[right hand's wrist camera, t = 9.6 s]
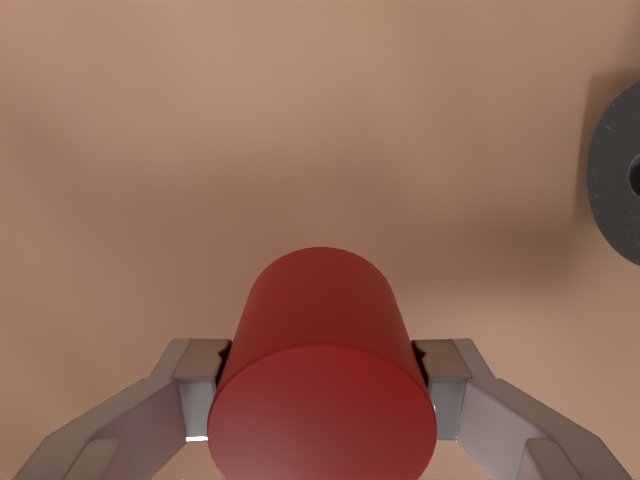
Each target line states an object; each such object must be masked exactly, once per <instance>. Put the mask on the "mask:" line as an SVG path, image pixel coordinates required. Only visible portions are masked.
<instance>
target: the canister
mask: <svg viewBox="0 0 640 480" xmlns="http://www.w3.org/2000/svg"><path fill="white" fill-rule="evenodd" d="M436 438H437V419H436V415H435V411H434V407H433V404H432V401H431V398H430V396H429V393H428V390H427V387H426V384H425V382H424V379H423V376H422V373H421V370H420V367H419V365H418V362H417V359H416V356H415V353H414V351H413V348H412V345H411V342H410V339H409V336H408V334H407V331H406V328H405V325H404V322H403V319H402V317H401V314H400V311H399V308H398V305H397V303H396V300H395V297H394V294H393V292H392V289H391V287H390V285H389V283H388V282H387V280H386V278H385V277H384V276H383V275H382V273H381V272H380V271H379V270H378V269H377V268H376V267H375V266H374V265H373V264H371V263H370V262H368V261H367V260H365V259H364V258H362V257H360V256H358V255H356V254H354V253H351V252H348V251H346V250H341V249H337V248H329V247H313V248H306V249H302V250H298V251H294V252H292V253H289V254H287V255H284V256H283V257H281V258H279V259H277V260H276V261H274V262H273V263H272V264H270V265H269V266H268V267H267V268H266V269H265V270H264V271H263V272H262V273H261V274H260V276H259V277H258V278H257V280H256V281H255V283H254V285H253V287H252V288H251V291H250V294H249V296H248V299H247V302H246V305H245V308H244V311H243V314H242V317H241V320H240V323H239V325H238V328H237V331H236V334H235V337H234V340H233V343H232V346H231V349H230V352H229V354H228V357H227V360H226V363H225V366H224V369H223V372H222V375H221V378H220V381H219V384H218V386H217V389H216V392H215V395H214V398H213V401H212V404H211V407H210V410H209V414H208V419H207V440H208V446H209V450H210V453H211V456H212V458H213V460H214V462H215V464H216V466H217V468H218V470H219V471H220V472H221V474H222V475H223V476H224V478H225V479H226V480H418V478H419V477H420V476H421V475H422V473H423V472H424V470H425V469H426V467H427V466H428V464H429V462H430V460H431V457H432V455H433V452H434V448H435V445H436Z"/></svg>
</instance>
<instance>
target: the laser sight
mask: <svg viewBox="0 0 640 480" xmlns="http://www.w3.org/2000/svg"><path fill="white" fill-rule="evenodd" d="M586 186H587V194H588V199H589V204H590V207H591V211H592V214H593V216H594V219H595V221H596V223H597V226H598V228H599V229H600V231H601V233H602V235H603V236H604V237H605V239H606V240H607V242H608V243H609V244H610V245H611V246H612V247H613V248H614V250H615V251H616V252H618V253H619V254H620V255H621V256H622V257H624V258H625V259H627V260H628V261H630V262H632V263H634V264H636V265H639V266H640V80H638V81H636V82H634V83H632V84H631V85H629V86H628V87H626V88H625V89H624V90H622V91H621V92H620V93H619V94H618V95H617V96H616V97H615V98H614V99H613V100H612V101H611V102H610V103H609V105H608V106H607V107H606V109H605V110H604V112H603V113H602V115H601V117H600V119H599V121H598V123H597V125H596V127H595V130H594V132H593V135H592V138H591V141H590V145H589V149H588V155H587V163H586Z"/></svg>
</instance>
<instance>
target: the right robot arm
mask: <svg viewBox="0 0 640 480" xmlns="http://www.w3.org/2000/svg"><path fill="white" fill-rule="evenodd" d="M411 345H412V348H413V351H414V353H415V356H416V359H417V362H418V365H419V367H420V370H421V373H422V376H423V379H424V382H425V384H426V387H427V390H428V393H429V396H430V398H431V401H432V404H433V407H434V411H435V415H436V419H437V438H436V440H453V441H457V443H458V444H459V445H460V446H461V447H462V448H463V449H464V450H465V451H466V452H467V453H468V454H469V455H470V456H471V457H472V458H473V459H474V460H475V461H476V462H477V463H478V464H479V465H480V466H481V467H482V468H483V469H484V470H485V471H486V472H487V473H488V474H489V475H490V476H491V477H492V478H493V479H494V480H633V479H632V478H631V476H630V475H629V474H628V473H627V471H626V470H625V469H624V468H623V466H622V465H621V464H620V463H619V461H618V460H617V459H616V458H615V456H614V455H613V454H612V453H611V451H610V450H609V449H608V448H607V446H606V445H605V444H604V443H603V441H602V440H601V439H600V438H599V437H598V436H596V435H595V434H593V433H591V432H590V431H588V430H586V429H585V428H583V427H581V426H580V425H578V424H576V423H575V422H573V421H571V420H570V419H568V418H566V417H565V416H563V415H561V414H560V413H558V412H556V411H555V410H553V409H551V408H550V407H548V406H546V405H545V404H543V403H541V402H540V401H538V400H536V399H535V398H533V397H531V396H530V395H528V394H526V393H525V392H523V391H521V390H520V389H518V388H516V387H515V386H513V385H511V384H509V383H508V382H506V381H504V380H503V379H496V378H495V377H494V375H493V373H492V372H491V370H490V369H489V367H488V365H487V364H486V362H485V361H484V359H483V357H482V356H481V354H480V352H479V351H478V349H477V348H476V346H475V344H474V343H473V341H472V340H471V339H469V338H463V339H440V340H412V341H411ZM231 346H232V341H231V339H173V340H171V341H170V343H169V345H168V346H167V348H166V350H165V351H164V353H163V355H162V356H161V358H160V360H159V361H158V363H157V365H156V366H155V368H154V370H153V371H152V373H151V375H150V376H149V378H148V379H141V380H139V381H138V382H136V383H134V384H133V385H131V386H130V387H128V388H126V389H125V390H123V391H121V392H120V393H118V394H116V395H115V396H113V397H111V398H110V399H108V400H106V401H105V402H103V403H101V404H100V405H98V406H96V407H95V408H93V409H91V410H90V411H88V412H86V413H85V414H83V415H81V416H80V417H78V418H76V419H75V420H73V421H71V422H70V423H68V424H66V425H65V426H63V427H61V428H60V429H58V430H56V431H55V432H53V433H51V434H50V435H48V436H46V438H45V439H44V440H43V441H42V443H41V444H40V445H39V447H38V448H37V449H36V450H35V452H34V453H33V454H32V455H31V457H30V458H29V459H28V460H27V462H26V463H25V464H24V465H23V467H22V468H21V469H20V471H19V472H18V473H17V474H16V476H15V477H14V478H13V479H12V480H150V479H151V478H152V477H153V476H154V475H155V474H156V473H157V472H158V471H159V470H160V469H161V468H162V467H163V466H164V465H165V464H166V463H167V462H168V461H169V460H170V459H171V458H172V457H173V456H174V455H175V454H176V453H177V452H178V451H179V450H180V449H181V448H182V447H183V446H184V445H185V444H186V443H187V441H190V440H207V419H208V414H209V410H210V407H211V404H212V401H213V398H214V395H215V392H216V389H217V386H218V384H219V381H220V378H221V375H222V372H223V369H224V366H225V363H226V360H227V357H228V354H229V352H230V349H231Z"/></svg>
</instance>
